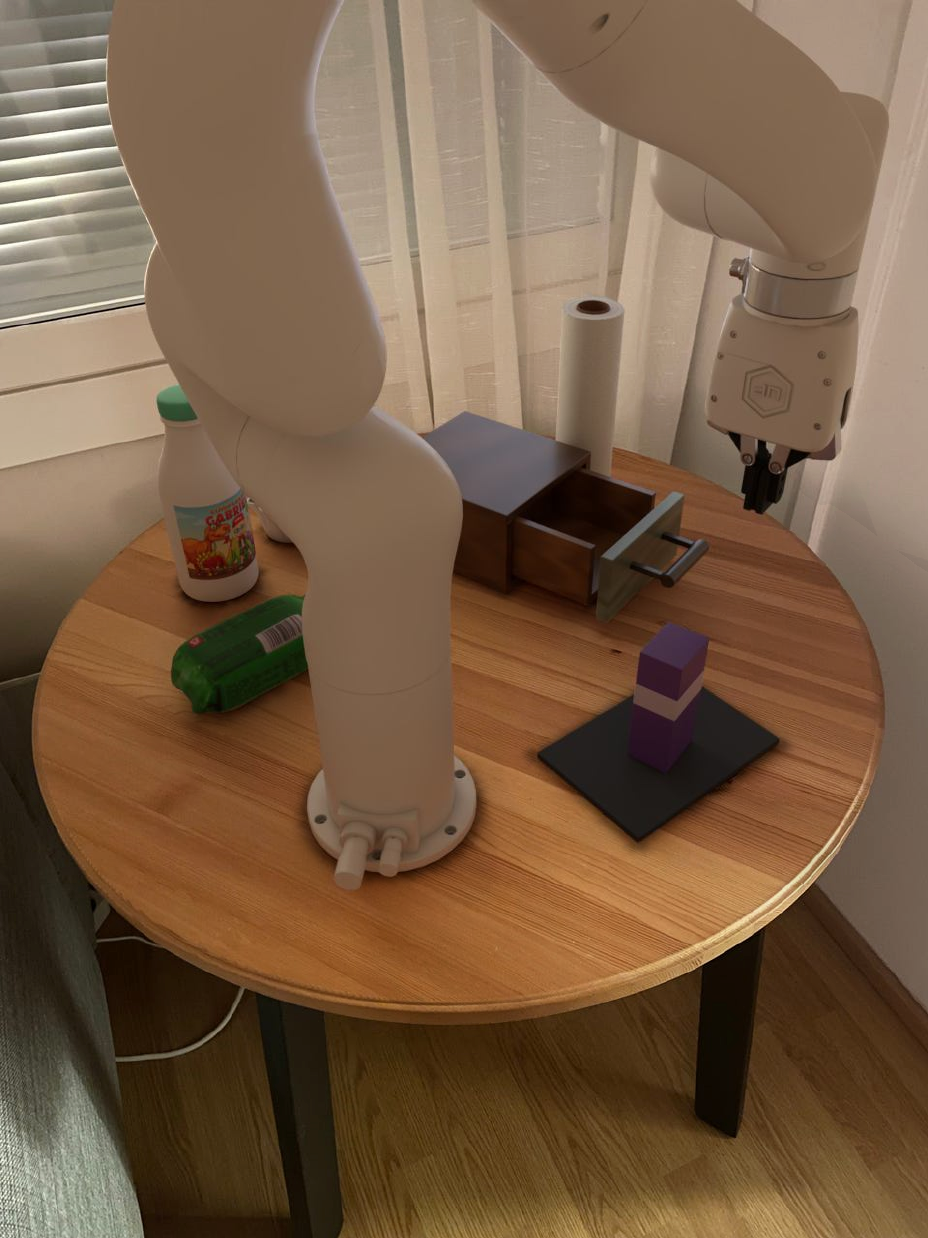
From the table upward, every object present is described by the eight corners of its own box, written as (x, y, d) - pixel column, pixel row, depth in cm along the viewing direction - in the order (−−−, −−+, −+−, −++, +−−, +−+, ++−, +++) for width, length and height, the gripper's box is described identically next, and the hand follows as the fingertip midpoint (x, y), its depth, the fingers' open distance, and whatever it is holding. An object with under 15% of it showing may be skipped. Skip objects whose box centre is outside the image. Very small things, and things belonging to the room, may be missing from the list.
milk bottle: (166, 598, 97) (119, 408, 84) (201, 554, 102) (162, 370, 90) (240, 609, 95) (204, 416, 83) (271, 564, 101) (242, 377, 89)
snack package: (359, 654, 90) (355, 607, 87) (205, 736, 82) (193, 688, 78) (314, 618, 94) (308, 572, 91) (163, 693, 86) (150, 646, 83)
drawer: (718, 569, 97) (728, 509, 93) (650, 641, 89) (659, 578, 85) (552, 509, 107) (555, 451, 102) (476, 569, 98) (476, 509, 94)
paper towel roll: (595, 515, 107) (610, 321, 94) (543, 502, 110) (551, 310, 96) (620, 485, 112) (638, 296, 99) (571, 472, 114) (582, 286, 101)
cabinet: (586, 525, 106) (591, 451, 100) (505, 594, 96) (506, 515, 91) (466, 481, 113) (464, 410, 108) (380, 541, 104) (374, 466, 99)
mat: (638, 843, 72) (638, 838, 72) (536, 757, 79) (537, 752, 79) (779, 744, 80) (780, 738, 80) (675, 673, 87) (676, 668, 87)
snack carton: (653, 722, 81) (667, 620, 75) (692, 740, 80) (710, 637, 73) (626, 755, 79) (638, 651, 72) (666, 774, 77) (682, 670, 70)
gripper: (680, 282, 73) (657, 498, 85) (885, 326, 66) (830, 555, 78) (725, 253, 78) (698, 461, 89) (921, 291, 71) (864, 512, 82)
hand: (759, 504), depth 83 cm, fingers closed
